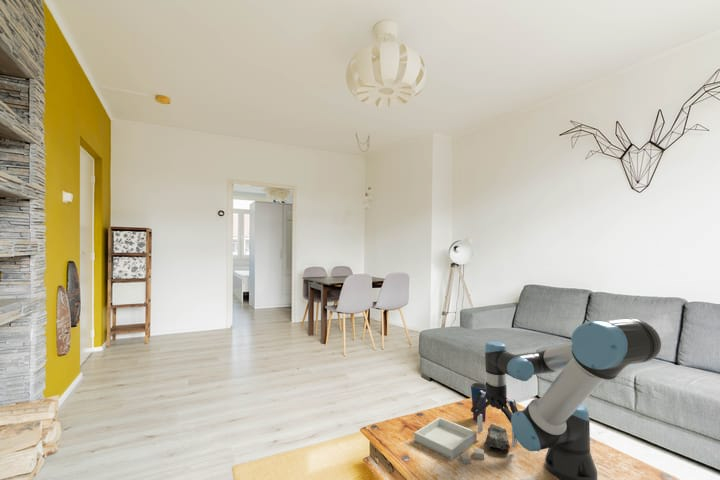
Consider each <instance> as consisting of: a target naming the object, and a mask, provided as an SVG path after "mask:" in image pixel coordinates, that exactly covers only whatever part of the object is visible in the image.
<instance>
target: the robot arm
mask: <svg viewBox="0 0 720 480" xmlns="http://www.w3.org/2000/svg"><path fill="white" fill-rule="evenodd" d="M661 340H662V339H661V337H660V335H659V333H658V331H657V330H656V328H654V327H653V326H651V325H650V324H649V323H647V322H645V321H643V320H640V319H637V318H630V317H628V318H619V319H618V318H617V319H607V320H602V319H600V320H599V319H598V320H597V319H595V320H591V321H589V322H585V323H581V324H580V325H579V326H577V327H576V328H575V330H573V332H572V335H571V338H570V343H566V344H563V345H560V346H556V347H552V348H548V349H545V350H544V349H543V350H541V351H535V352H527V353H518V354H514V353H511V352H508V351H507V346H506V344H505V343H503V342H500V341H495V340H493V341H492V340H491V341H487V342H486V343H485V346H484V347H485V349H484V361H485V362H484V363H485V385H486V393H485V392H484V391H483V390H481V391H479V392H478V397H477V399H476V401H475V403H474V405H473V406H471V408H470V412H471V413H473V412H474V413H475V415H476V421H475V423H476V424H477V433H478V434H481V433H482V432H483V430H484V429H483V423H484V422H483V420H482V414H480V413H481V412H482V411H483V410H484V409H485V408H486V409H487V408H488V407H489V406H491V408H495V409H498V410H501V412H502V413H503V414H504V415H505V417H506V418H507V420H508V422H509V423H510V425H511V447H512V448H515V447H516V446H517V445H518V443H519V445H520V446H521V447H522V448H524V450H527V451H529V452H540V451H541V450H546V449H547V452H546V455H545V456H544V457H545V458H544V464H545V468H546V470H547V471H548V472H549V473H550V474H551V475H552V476H554V477H556V478H557V479H559V480H598V470H597V467H596V464H595V462H594V459H593V456H592V453H591V440H590V439H591V437H590V436H591V435H590V434H591V431H590V430H591V429H590V428H591V426H590V421H591V420H590V417H589V416H590V415H589V414H590V413H589V410H588V409H587V407H586V406H585V405H583V403H584V402H585V401H586V399H587V398H589V396H590V395H592V393H593V392H594V391H595V390H596V388H598V386H600V385H601V383H602V382H603V381H613V380H615V379H616V378H617V377H618V376H619V375H620V373H621V372H622V371H623V370H624V369H625V368H626V367H628V366H630V365H636V364H641V363H646V362H650V361H651V360H653V359H655V358H656V357H657V356H658V355H659V353H660V352H661V350H662V349H661V348H662V341H661ZM559 371H561V372H560V373H559V374H558V375H557V376H556V377H555V379H554V381H553V382H552V383H551V384H550V386H548V388H547V389H546V391H545V392H544V393H543V394H542V396H541V397H540V398H536V399H535V398H534V399H532V400H531V401H530V402H529V403H528V405H527V406H526V407H525V408H524V409H523V410H518V407H517V405H516V399H508V397H507V395H508V393H507V375H508V376H509V377H511V378H513V379H515V380H518V381H522V382H527V381H529V380H530V379H532V377H533V376H534V375H541V374H542V375H543V374H550V373H551V374H552V373H555V372H559ZM484 396H485V397H486V403H485V404H484V405H483V406H482V407H480V408H479V409H478V410H477V407H478V406H479V404H480V402H481V400H482V398H483V397H484Z"/></svg>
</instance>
